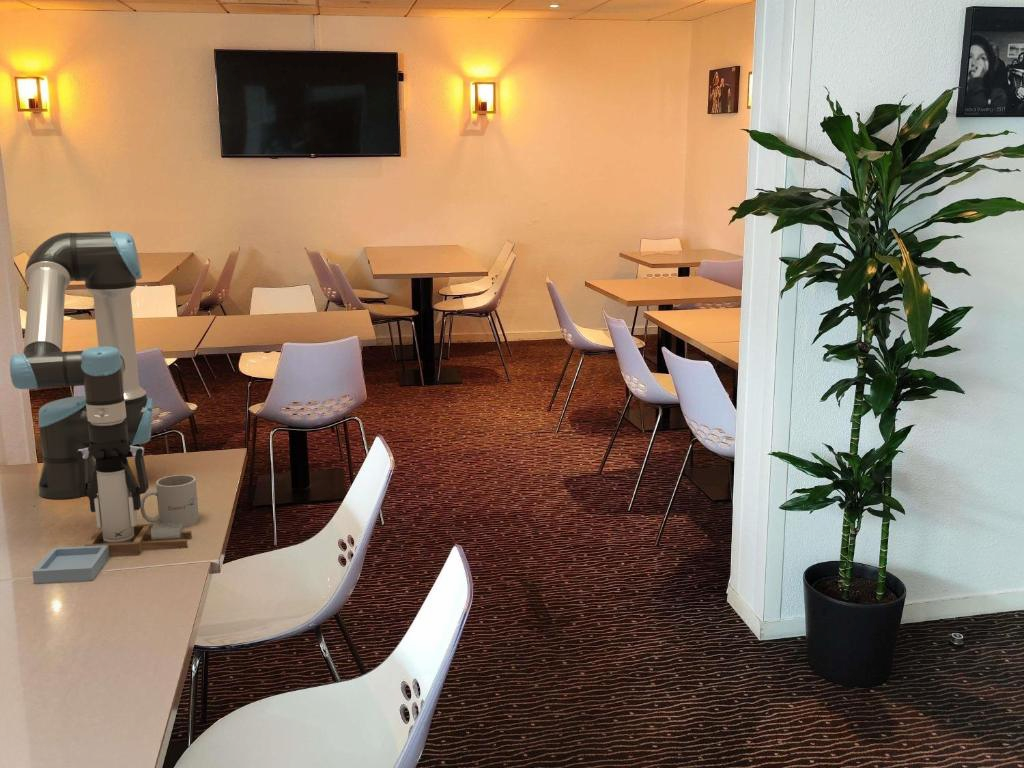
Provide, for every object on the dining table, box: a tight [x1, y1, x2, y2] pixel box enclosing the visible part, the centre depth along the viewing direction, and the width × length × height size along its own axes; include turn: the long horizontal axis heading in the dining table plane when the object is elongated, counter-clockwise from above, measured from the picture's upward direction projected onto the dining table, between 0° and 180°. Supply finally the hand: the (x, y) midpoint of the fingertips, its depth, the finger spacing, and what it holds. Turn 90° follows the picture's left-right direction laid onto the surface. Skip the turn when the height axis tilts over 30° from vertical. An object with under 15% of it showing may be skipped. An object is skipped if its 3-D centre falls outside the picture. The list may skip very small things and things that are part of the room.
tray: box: [32, 545, 110, 585], centre depth 193 cm, size 12×11×3 cm
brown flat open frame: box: [84, 523, 193, 558], centre depth 206 cm, size 12×20×2 cm, turn 98°
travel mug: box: [94, 454, 136, 544], centre depth 204 cm, size 6×7×20 cm
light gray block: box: [151, 523, 184, 541], centre depth 206 cm, size 3×6×4 cm, turn 98°
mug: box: [139, 474, 200, 528], centre depth 218 cm, size 12×9×10 cm
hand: (117, 524), depth 205 cm, fingers closed on travel mug, 6 cm apart
